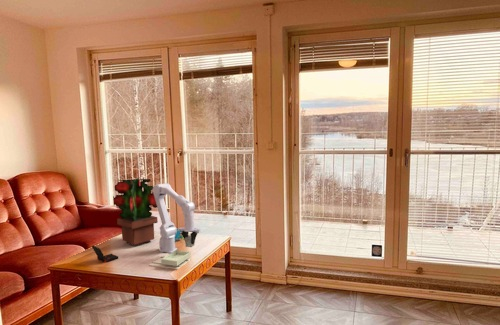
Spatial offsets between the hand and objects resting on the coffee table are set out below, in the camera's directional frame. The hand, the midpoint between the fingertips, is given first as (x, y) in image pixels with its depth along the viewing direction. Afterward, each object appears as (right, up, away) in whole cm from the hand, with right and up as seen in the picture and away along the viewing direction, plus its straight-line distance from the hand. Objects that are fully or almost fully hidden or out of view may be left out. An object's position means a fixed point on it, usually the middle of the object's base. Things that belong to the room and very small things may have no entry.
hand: (189, 243), depth 207 cm
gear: (-15, -6, +33) cm, 37 cm away
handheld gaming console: (-51, -10, -3) cm, 52 cm away
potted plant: (-42, -7, +29) cm, 51 cm away
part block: (0, -2, 0) cm, 2 cm away
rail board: (-10, -9, -11) cm, 17 cm away
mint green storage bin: (-6, -9, -12) cm, 16 cm away
